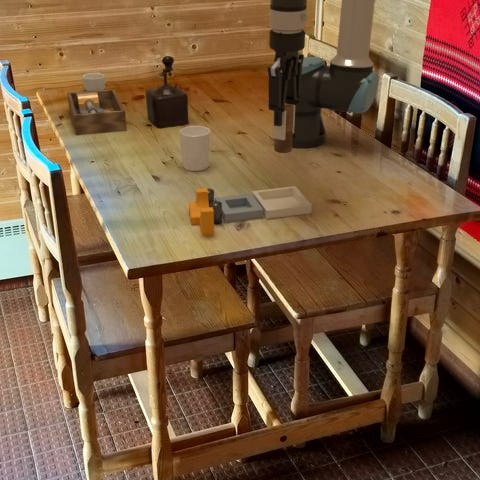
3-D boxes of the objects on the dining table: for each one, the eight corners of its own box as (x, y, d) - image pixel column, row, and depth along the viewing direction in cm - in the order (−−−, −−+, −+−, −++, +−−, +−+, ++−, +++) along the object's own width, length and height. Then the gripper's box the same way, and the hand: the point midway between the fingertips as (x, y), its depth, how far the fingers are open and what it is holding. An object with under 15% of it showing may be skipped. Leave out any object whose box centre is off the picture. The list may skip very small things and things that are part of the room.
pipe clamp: (188, 214, 169) (188, 189, 166) (207, 213, 169) (207, 188, 166) (194, 239, 158) (193, 212, 155) (213, 237, 159) (213, 211, 156)
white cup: (184, 173, 189) (183, 137, 184) (178, 162, 196) (177, 127, 191) (213, 170, 191) (213, 134, 186) (206, 159, 198) (206, 124, 193)
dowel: (294, 148, 165) (296, 106, 161) (287, 154, 162) (289, 111, 157) (278, 145, 167) (280, 103, 162) (271, 151, 164) (272, 108, 159)
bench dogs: (212, 207, 172) (212, 187, 169) (223, 225, 164) (223, 205, 161) (201, 208, 171) (201, 189, 169) (212, 226, 163) (211, 206, 161)
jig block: (251, 203, 174) (251, 193, 173) (262, 219, 166) (263, 209, 165) (214, 207, 172) (214, 197, 170) (225, 224, 164) (225, 214, 163)
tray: (294, 195, 178) (295, 186, 176) (311, 215, 168) (311, 205, 167) (251, 201, 175) (252, 191, 174) (266, 221, 166) (266, 210, 164)
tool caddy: (115, 107, 237) (114, 89, 234) (126, 130, 217) (125, 111, 215) (69, 111, 233) (67, 92, 230) (75, 135, 214) (73, 115, 211)
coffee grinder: (191, 124, 223) (189, 65, 214) (157, 129, 219) (154, 69, 210) (174, 109, 235) (172, 53, 227) (141, 113, 231) (138, 57, 223)
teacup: (107, 93, 250) (106, 78, 247) (85, 95, 248) (83, 79, 245) (103, 85, 258) (102, 70, 255) (81, 87, 256) (80, 72, 253)
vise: (71, 112, 232) (69, 92, 229) (103, 109, 235) (101, 89, 232) (78, 131, 217) (76, 109, 214) (112, 127, 220) (111, 106, 217)
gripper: (286, 39, 144) (282, 150, 155) (320, 23, 157) (314, 127, 168) (252, 35, 147) (251, 144, 158) (288, 20, 160) (284, 121, 171)
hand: (283, 135), depth 163 cm, fingers closed on dowel, 4 cm apart
